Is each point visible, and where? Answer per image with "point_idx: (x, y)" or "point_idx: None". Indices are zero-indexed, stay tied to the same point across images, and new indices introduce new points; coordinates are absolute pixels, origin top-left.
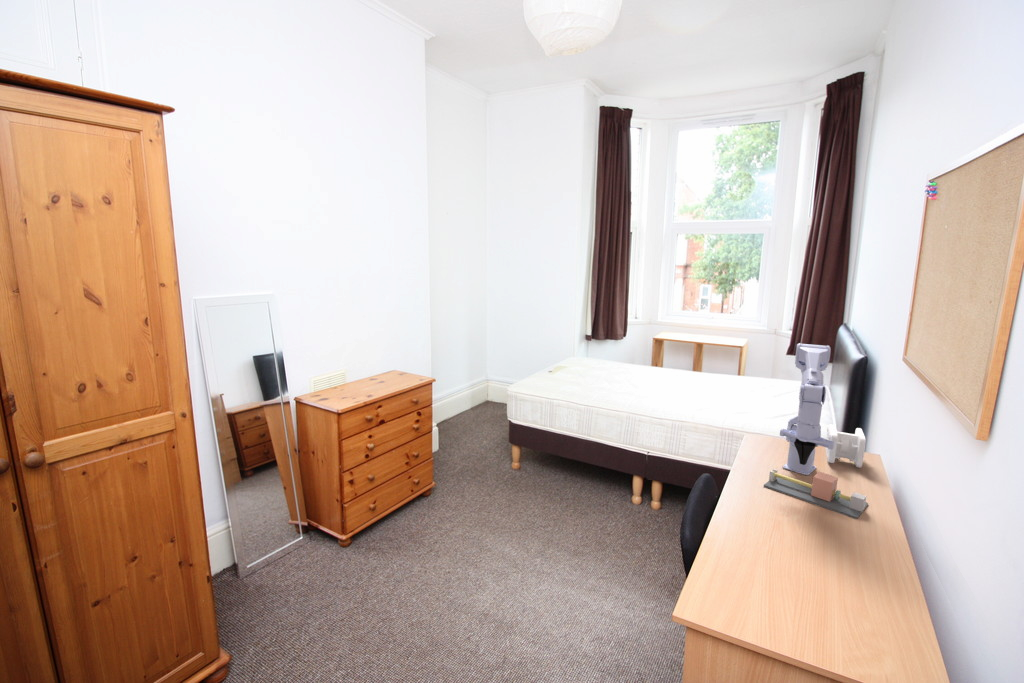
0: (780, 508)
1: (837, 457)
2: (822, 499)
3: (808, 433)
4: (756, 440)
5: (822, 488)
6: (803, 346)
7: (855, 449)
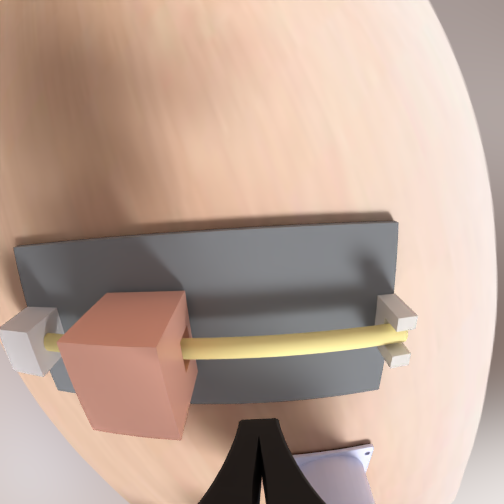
0: (239, 47)
1: None
2: None
3: None
4: (447, 495)
5: (119, 317)
6: None
7: None
